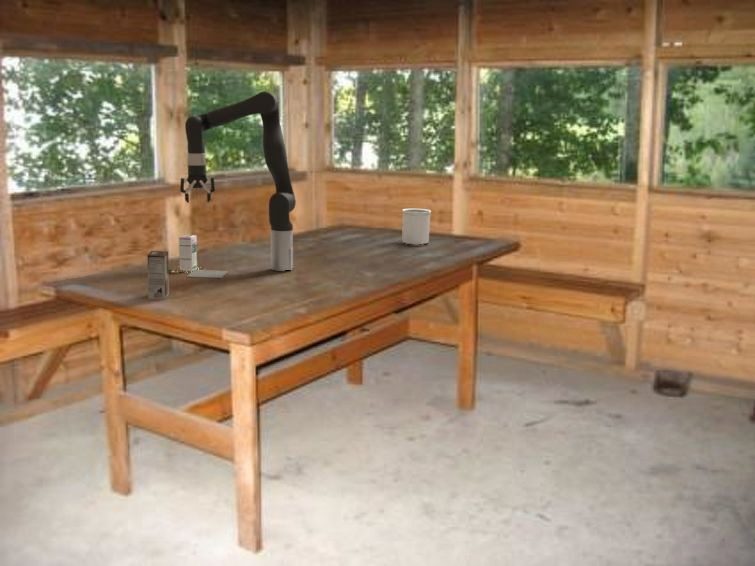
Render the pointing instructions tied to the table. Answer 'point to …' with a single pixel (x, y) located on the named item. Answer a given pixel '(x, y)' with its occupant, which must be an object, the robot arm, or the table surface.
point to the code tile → (186, 271)
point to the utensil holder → (416, 225)
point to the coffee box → (158, 275)
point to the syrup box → (188, 252)
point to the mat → (207, 274)
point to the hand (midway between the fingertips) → (197, 202)
